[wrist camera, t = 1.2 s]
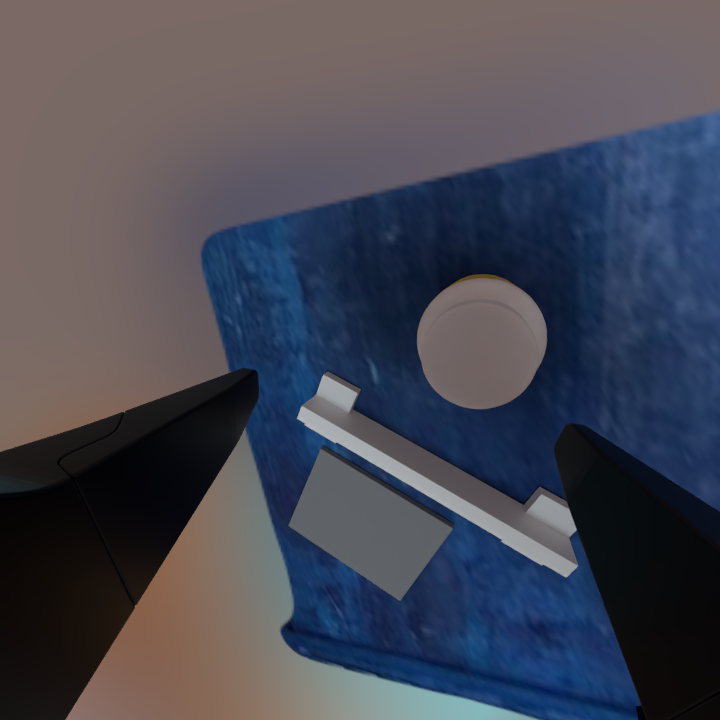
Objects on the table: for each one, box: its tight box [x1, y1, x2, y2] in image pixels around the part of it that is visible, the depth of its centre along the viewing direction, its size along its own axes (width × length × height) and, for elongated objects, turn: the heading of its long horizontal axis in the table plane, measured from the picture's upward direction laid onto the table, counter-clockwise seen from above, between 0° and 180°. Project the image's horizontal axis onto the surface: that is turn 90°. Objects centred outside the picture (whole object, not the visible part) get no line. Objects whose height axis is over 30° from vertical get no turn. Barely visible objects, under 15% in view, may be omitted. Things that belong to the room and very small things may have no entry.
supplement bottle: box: [417, 274, 547, 409], centre depth 16 cm, size 5×5×10 cm
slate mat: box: [289, 446, 454, 601], centre depth 28 cm, size 12×10×1 cm
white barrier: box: [297, 372, 578, 577], centre depth 23 cm, size 20×5×3 cm, turn 69°
